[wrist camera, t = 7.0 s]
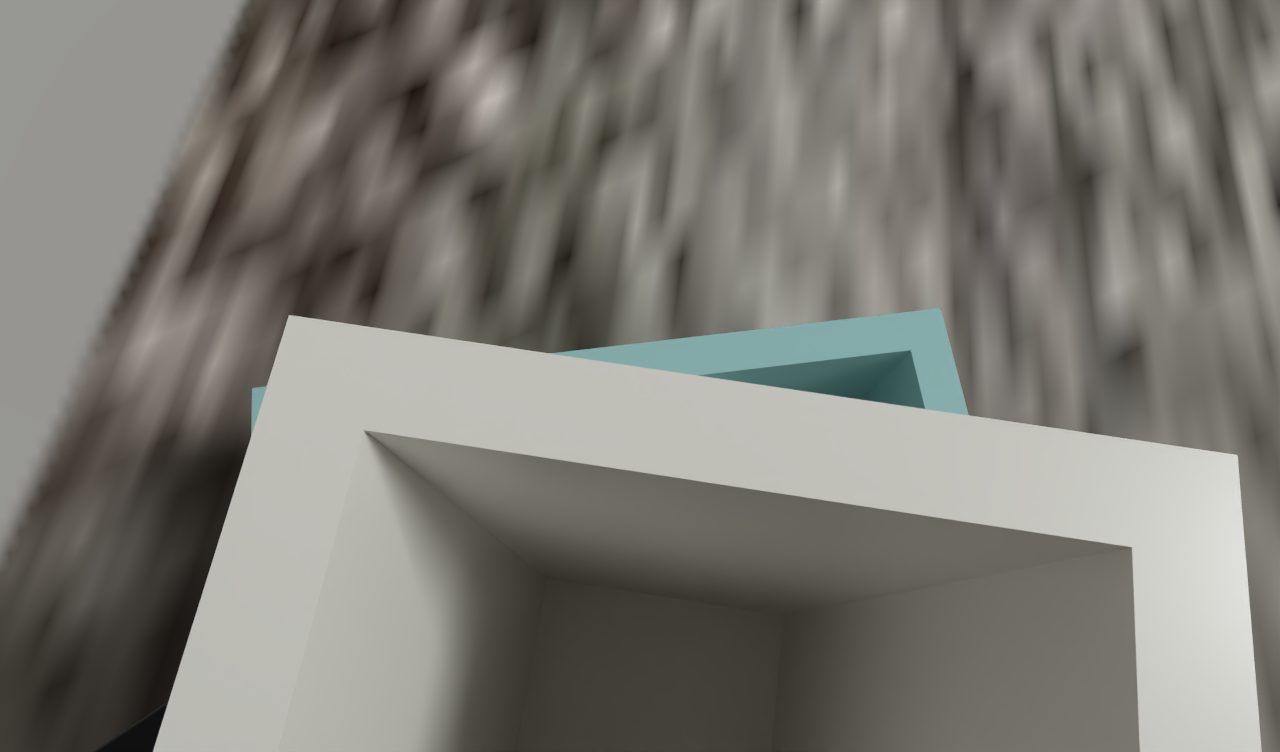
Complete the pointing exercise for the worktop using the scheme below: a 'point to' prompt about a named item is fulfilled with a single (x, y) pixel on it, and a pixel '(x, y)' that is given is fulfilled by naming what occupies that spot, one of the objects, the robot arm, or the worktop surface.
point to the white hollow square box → (699, 570)
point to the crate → (810, 359)
